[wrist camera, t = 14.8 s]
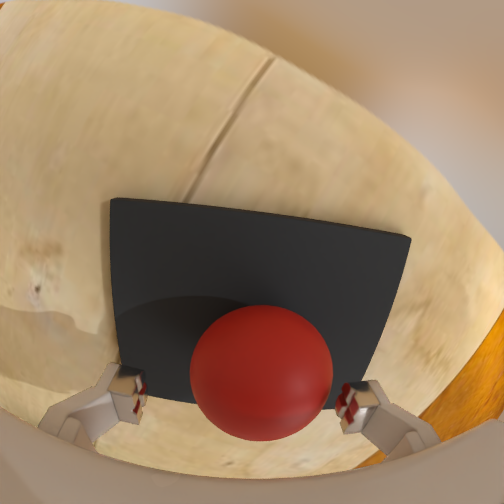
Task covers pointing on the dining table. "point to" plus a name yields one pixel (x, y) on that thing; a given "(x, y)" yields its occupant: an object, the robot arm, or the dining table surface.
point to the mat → (244, 283)
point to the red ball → (261, 373)
